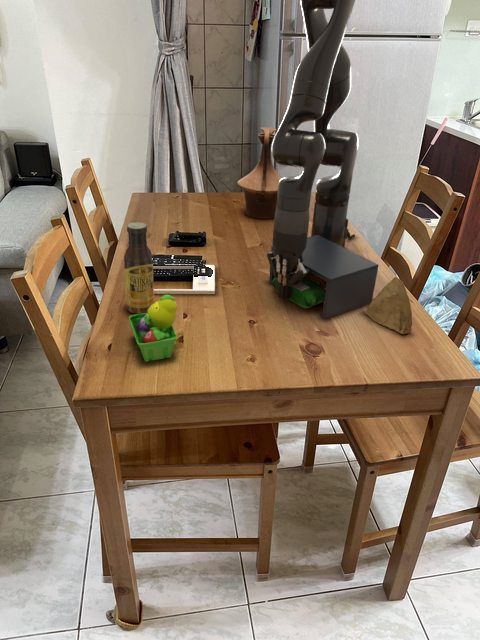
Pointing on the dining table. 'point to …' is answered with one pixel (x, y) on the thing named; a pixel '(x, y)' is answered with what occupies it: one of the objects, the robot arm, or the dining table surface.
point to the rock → (392, 307)
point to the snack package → (305, 292)
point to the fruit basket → (156, 329)
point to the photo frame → (199, 283)
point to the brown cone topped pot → (262, 181)
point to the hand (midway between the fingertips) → (284, 297)
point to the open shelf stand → (339, 275)
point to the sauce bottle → (138, 270)
